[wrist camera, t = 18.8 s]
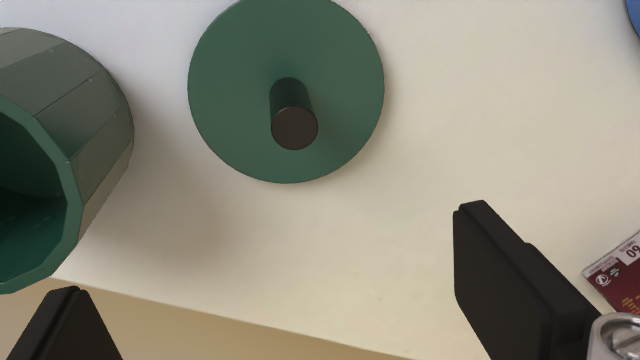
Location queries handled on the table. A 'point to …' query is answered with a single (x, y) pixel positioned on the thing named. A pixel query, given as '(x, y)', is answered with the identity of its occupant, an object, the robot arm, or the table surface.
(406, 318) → the table surface
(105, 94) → the tin
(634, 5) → the bowl
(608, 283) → the supplement box
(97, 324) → the robot arm
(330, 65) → the lid
